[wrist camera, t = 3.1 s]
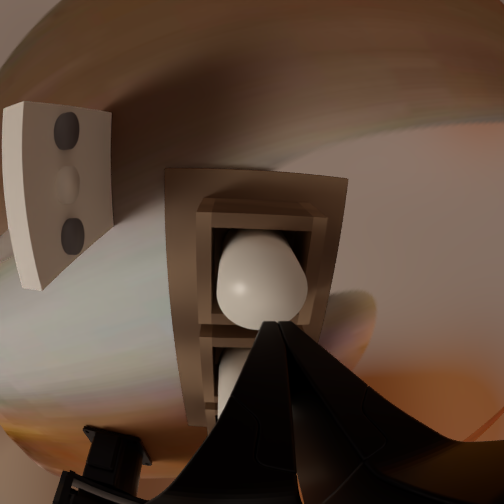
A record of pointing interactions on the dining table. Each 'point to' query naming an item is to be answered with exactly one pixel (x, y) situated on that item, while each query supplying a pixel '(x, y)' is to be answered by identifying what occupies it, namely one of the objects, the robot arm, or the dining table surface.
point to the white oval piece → (259, 278)
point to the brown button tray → (208, 254)
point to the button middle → (229, 372)
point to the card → (55, 185)
